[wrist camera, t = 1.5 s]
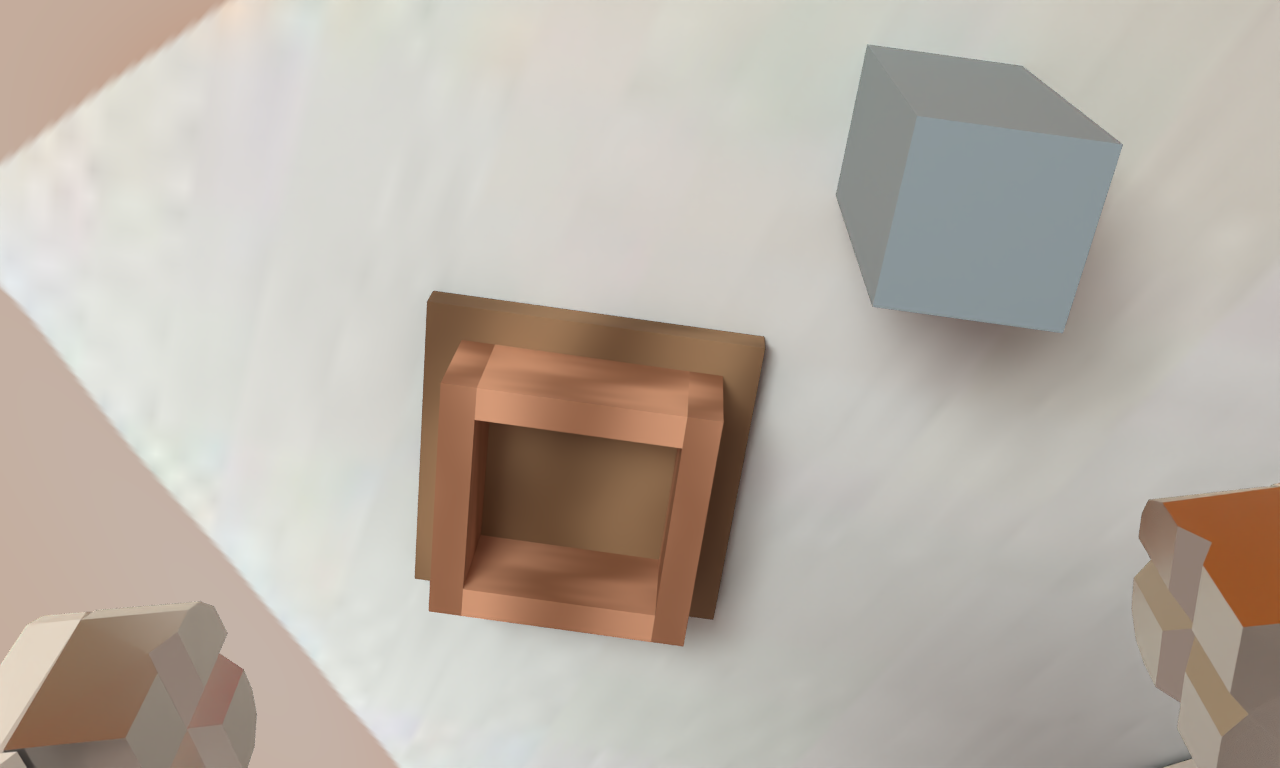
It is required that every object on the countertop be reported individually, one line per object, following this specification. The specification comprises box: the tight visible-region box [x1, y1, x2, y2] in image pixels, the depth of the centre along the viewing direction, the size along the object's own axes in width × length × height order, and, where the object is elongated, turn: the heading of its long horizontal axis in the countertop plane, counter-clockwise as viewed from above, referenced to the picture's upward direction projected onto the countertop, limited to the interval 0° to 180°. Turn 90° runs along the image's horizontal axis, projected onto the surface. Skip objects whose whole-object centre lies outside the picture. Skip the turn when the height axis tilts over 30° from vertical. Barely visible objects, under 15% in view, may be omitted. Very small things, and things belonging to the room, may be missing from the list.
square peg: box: [836, 45, 1123, 333], centre depth 33 cm, size 5×5×10 cm
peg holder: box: [415, 291, 765, 646], centre depth 42 cm, size 12×12×4 cm
